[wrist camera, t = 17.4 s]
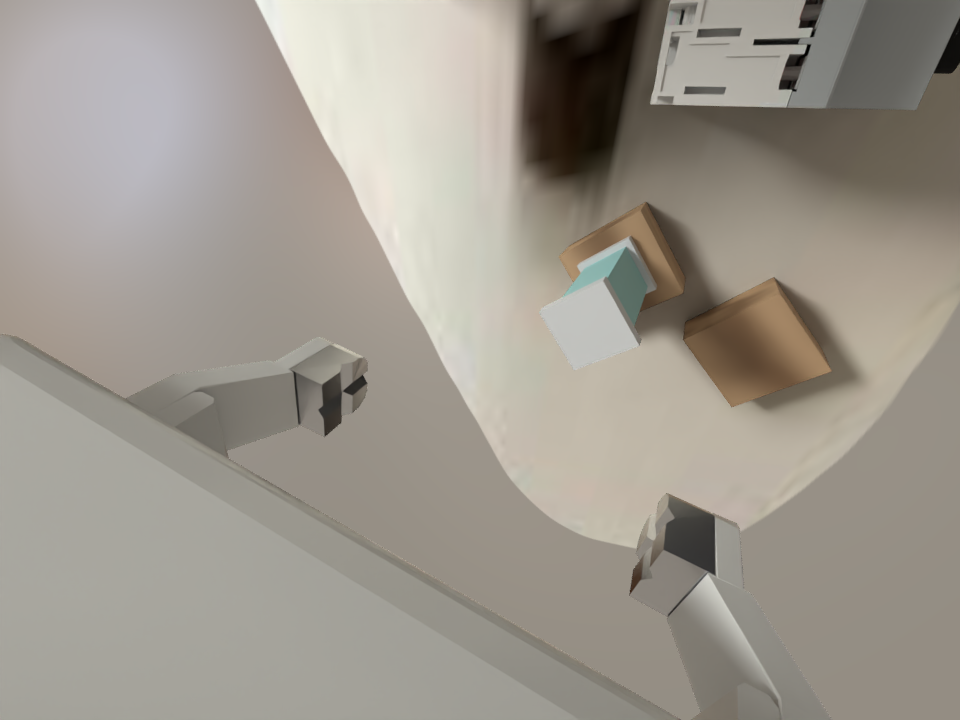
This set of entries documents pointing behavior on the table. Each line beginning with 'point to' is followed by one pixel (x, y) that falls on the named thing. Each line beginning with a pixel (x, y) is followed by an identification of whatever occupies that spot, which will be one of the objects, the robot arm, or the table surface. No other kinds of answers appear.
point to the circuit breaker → (805, 52)
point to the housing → (601, 305)
